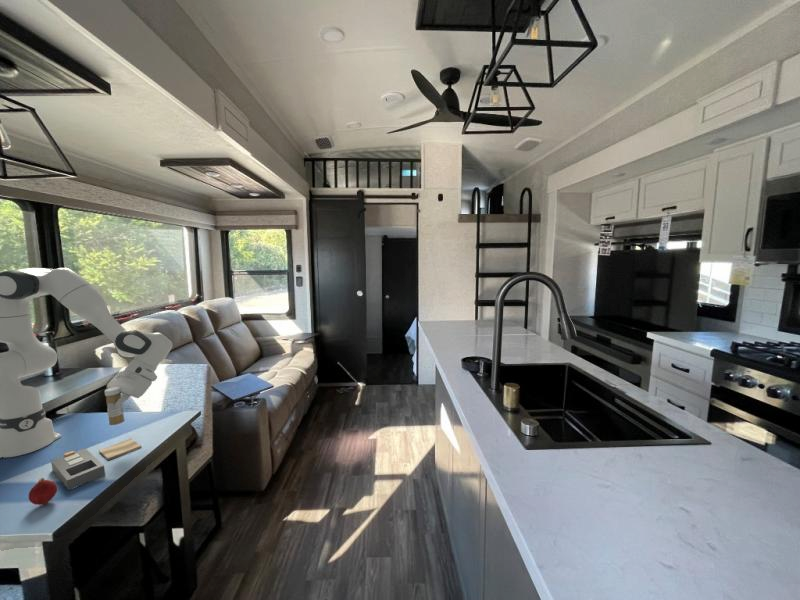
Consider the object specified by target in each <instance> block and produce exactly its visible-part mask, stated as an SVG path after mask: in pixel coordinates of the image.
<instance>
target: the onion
mask: <svg viewBox="0 0 800 600" xmlns="http://www.w3.org/2000/svg"><path fill="white" fill-rule="evenodd" d="M57 493H58V486H57V484H56V483H55V482H54V481H52V480H47V479H46V480H45V478H44V477H41V478H39V479H38V482H37V483H35V485H33V486H32V488H31V489H30V491H29V493H28V500H29V502H30V503H32V504H34V505H36V506H37V505H39V506H40V505H41V506H45V505H46V504H48V503H49V502H51V500H53V498H54V497H55V496H56V494H57Z"/></svg>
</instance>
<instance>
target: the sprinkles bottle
mask: <svg viewBox="0 0 800 600" xmlns="http://www.w3.org/2000/svg"><path fill="white" fill-rule="evenodd" d="M121 395H122V393H121V392H120V387H113V388H106V389H105V390H104V396H105V400H106V401H105V402H106V407H107V409H106V410H107V416H108V422H109V424H108V425H110V426H116V425H120V424H122V423H124V422H125V417H124V406H123V403H122V404H121V405H120V406H119V407H118V406H115V405H114V403H115V401H116V400H118V399H119V398H121V397H122V396H121Z"/></svg>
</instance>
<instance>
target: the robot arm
mask: <svg viewBox="0 0 800 600" xmlns="http://www.w3.org/2000/svg"><path fill="white" fill-rule="evenodd" d="M46 296H52V297H53V298H55V299H56V300H57V301H58V302H59V303H60V304H61V305H63V306H64V307H65V308H67V309H68V311H71V312H72V313H73V314H76V315H77V316H78V317H80V318H82V319H83V320H85V321H86V322H88V323H90V324H91V325H92V326H93V327H95V328H97V329H98V330H99V331H100V332H101V333H102V334H103V335H104V336H105V337H107V338H108V340H110V341H111V343H112V344H113V345H114V348H115V351H116V353H117V355H118V356H119V357H121V358H122V359H125V360H131V361H130V362H129V364H128V365H127V366H125V368H124V369H123V370H122V371H119V372H117V374H115V376H114V377H112V379H111V380H110V381H109V382H108V383H107V384H106V389H109V388H113V387H120V392H121V398H119V399H118V400H116V401H115V403H114V405H115V406H118V407H119V406H120V405H121V404H122V405H123V403H125V402H126V401H127V400H128V399H129V398H131V397H133V398H135V399H139V398H141V397H143V395H144V394H145V393H146V392H147V390H148V389H149V388H150V387H151V385H152V384H153V383H152V382H155V381H156V380H157V379H158V375H157V374H156V373H155V371H156V370H157V368H158V366H159V364H160V363H161V362H163V361H164V360H165V359H166V357H168V355H169V354H170V351H171V350H172V348H173V346H174V345H173V341H172V340H171V338H170V337H168V336H167V335H166V334H164V333H162V332H146V331H140V330H136V329H126V328H124V327H123V326H122V325H121V324H120V323H119V321H117V320H116V319H115V318H114V317H113V315H112V314H111V313H110V311H109V309H108V306H107V304H106V301H105V299H104V297H103V296H102V294H101V293H100V292H99V291H98V290H97V288H96V287H95V286H93V284H92V283H90V282H89V281H88V280H87V279H86V278H84V277H83V276H81V275H80V274H78V273H76V272H75V271H74V270H72V269H70V268H67V267H58V268H54V269H53V268H50V267H26V268H20V269H19V268H18V269H8V270H4V271H1V272H0V343H1V344H2V343H3V344H6V346H7V347H8V350H7V351H4V352H0V458H2V457H3V458H13V457H18V456H22V455H26V454H29V453H33V452H35V451H38V450H41V449H43V448H45V447H46V446H49V445H50V444H51V443H53V442H54V441H56V440H59V439H60V438H61V437H62V435H61V433H58V432H55V429H54V424H53V421H52V419H50V418H47V417H46V410H45V407H43V402H42V397H41V391H40V390H39V389H38V388H37V387H34V386H29V385H24V384H22V382H21V380H20V379H21V378H24V377H28V376H33V375H35V374H39V373H41V372H45V371H46V370H49V369H50V368H53V367H54V366H55V365H56V363H57V362H58V354H57V351H56V350H55V349H54V348H52V347H51V346H49V345H46V344H44V343H43V342H41V341H40V340H39V339H38V338H37V336H36V335H35V332H34V329H33V325H32V317H31V307H30V306H31V305H30V303H31V301H32V300H33V299H36V298H42V297H43V298H44V297H46Z"/></svg>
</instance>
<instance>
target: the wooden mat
mask: <svg viewBox="0 0 800 600" xmlns="http://www.w3.org/2000/svg"><path fill="white" fill-rule="evenodd" d="M141 448H142V445H141V444H140V443H138V442H137V441H135V439H132V438H129V439H125V440H123V441H121V442H117V443H116V444H113V445H110V446H108V447H104V448H102V449H99V450H98V452H99V454H100V455H101V454H102V455H101V456H102V457H104V458H105V460H107V461H111V460H114V459H116V458H118V457H121V456H123V455H126V454H129V453H131V452H134V451H136V450H139V449H141Z"/></svg>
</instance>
